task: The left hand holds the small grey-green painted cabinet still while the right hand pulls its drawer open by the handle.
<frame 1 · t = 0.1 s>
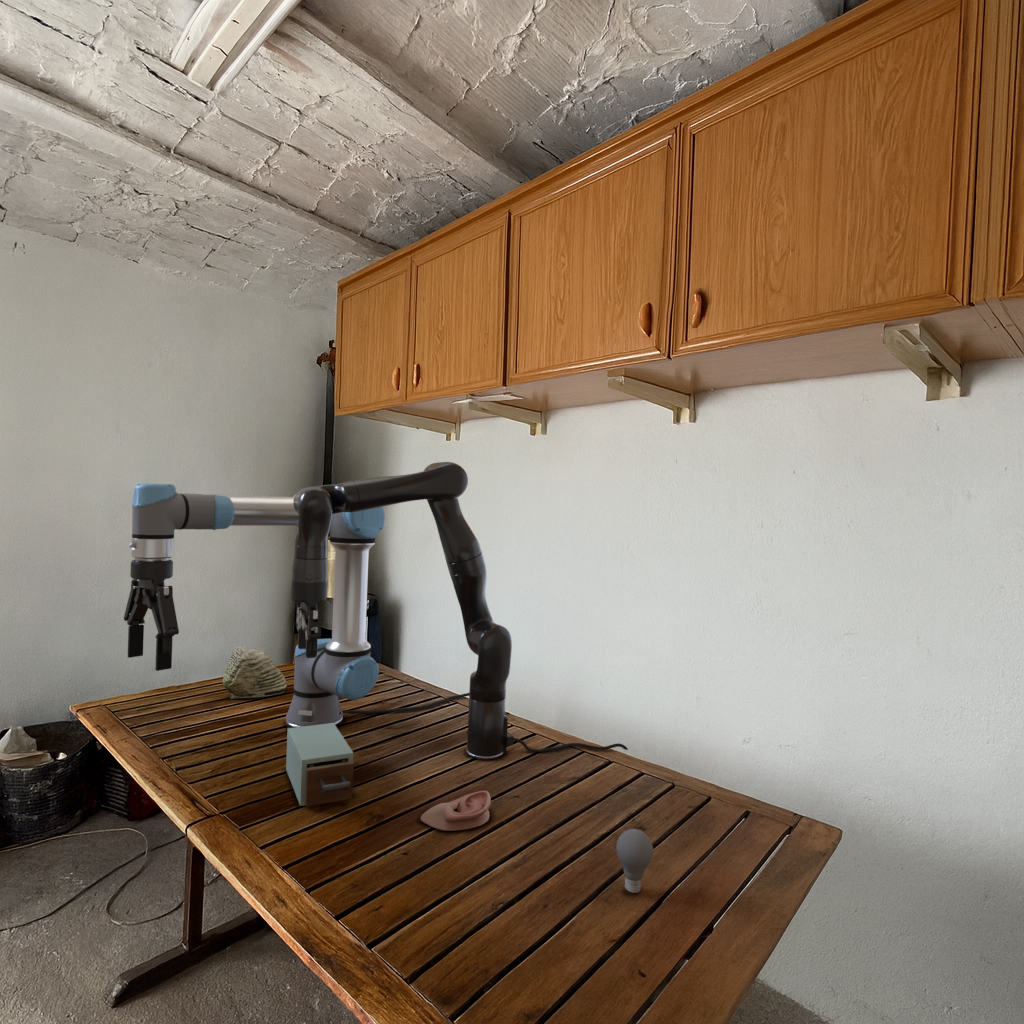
left hand: (148, 662, 129), 28 cm above the table, tool pointing down, fingers open, 13 cm apart
right hand: (307, 652, 138), 29 cm above the table, tool pointing down, fingers open, 8 cm apart
drawer: (324, 772, 135), point 5 cm above the table, slide at 1.7 cm
light bulb: (632, 891, 106), on the table
fossil: (254, 694, 198), on the table
anatomical model: (455, 818, 127), on the table
cabinet: (317, 782, 140), on the table
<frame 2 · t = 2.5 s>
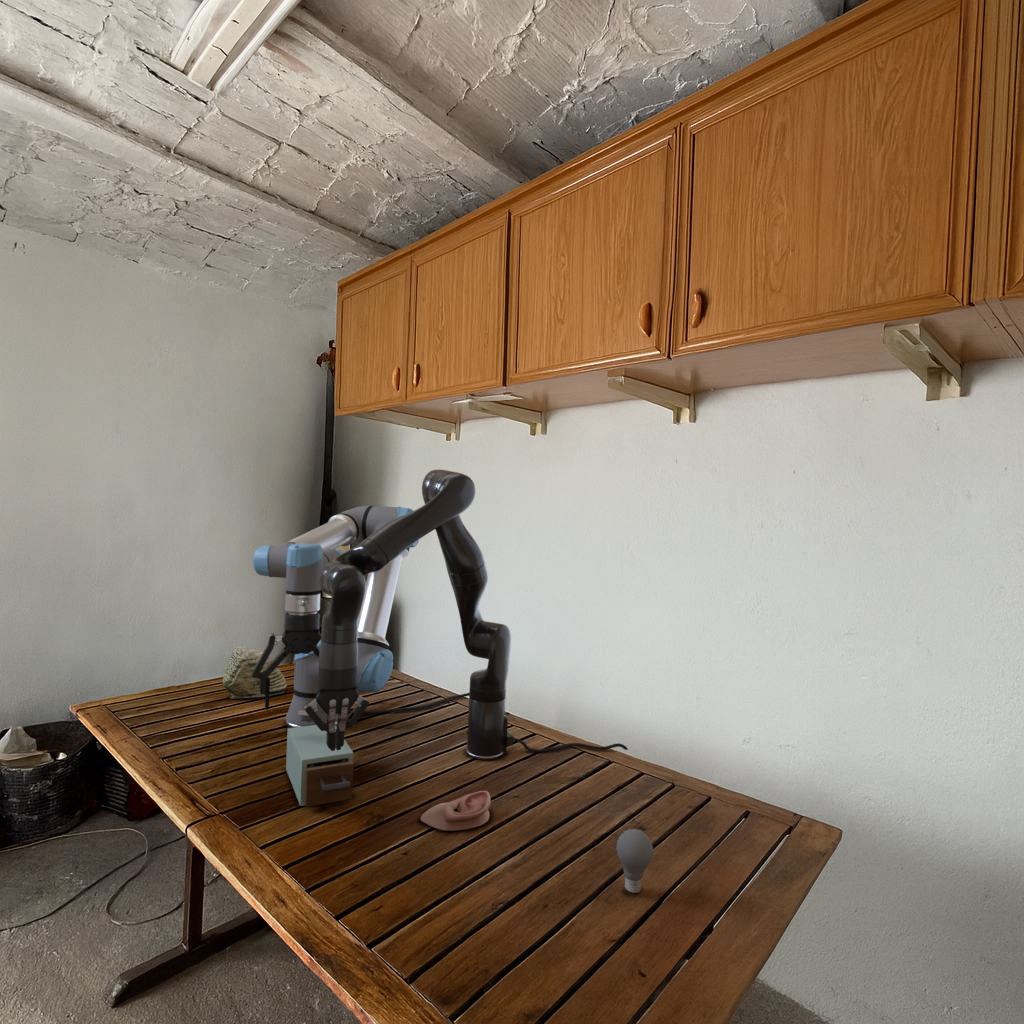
left hand: (299, 705, 143), 16 cm above the table, tool pointing down, fingers open, 13 cm apart
right hand: (335, 748, 127), 13 cm above the table, tool pointing down, fingers closed
nothing on the table moved.
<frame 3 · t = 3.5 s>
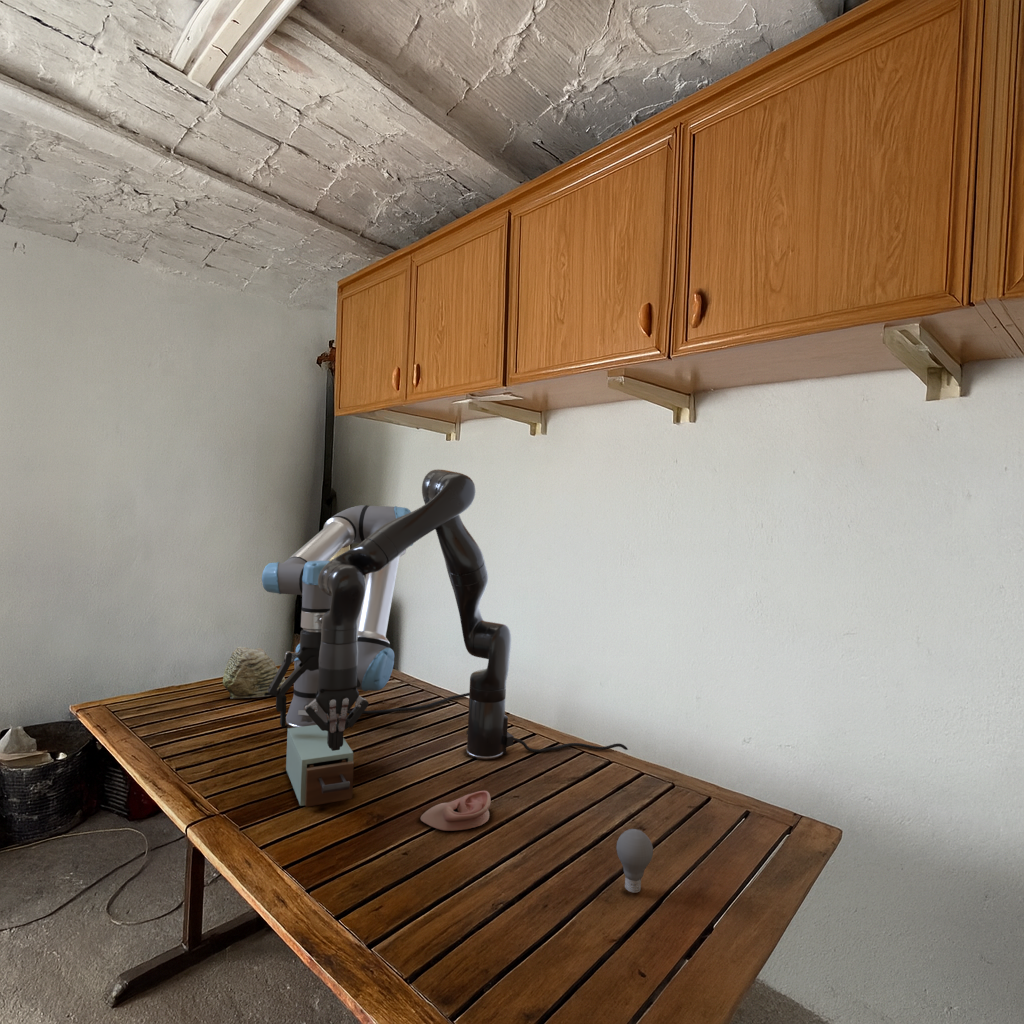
left hand: (313, 721, 145), 12 cm above the table, tool pointing down, fingers open, 13 cm apart
right hand: (335, 748, 127), 13 cm above the table, tool pointing down, fingers closed
nothing on the table moved.
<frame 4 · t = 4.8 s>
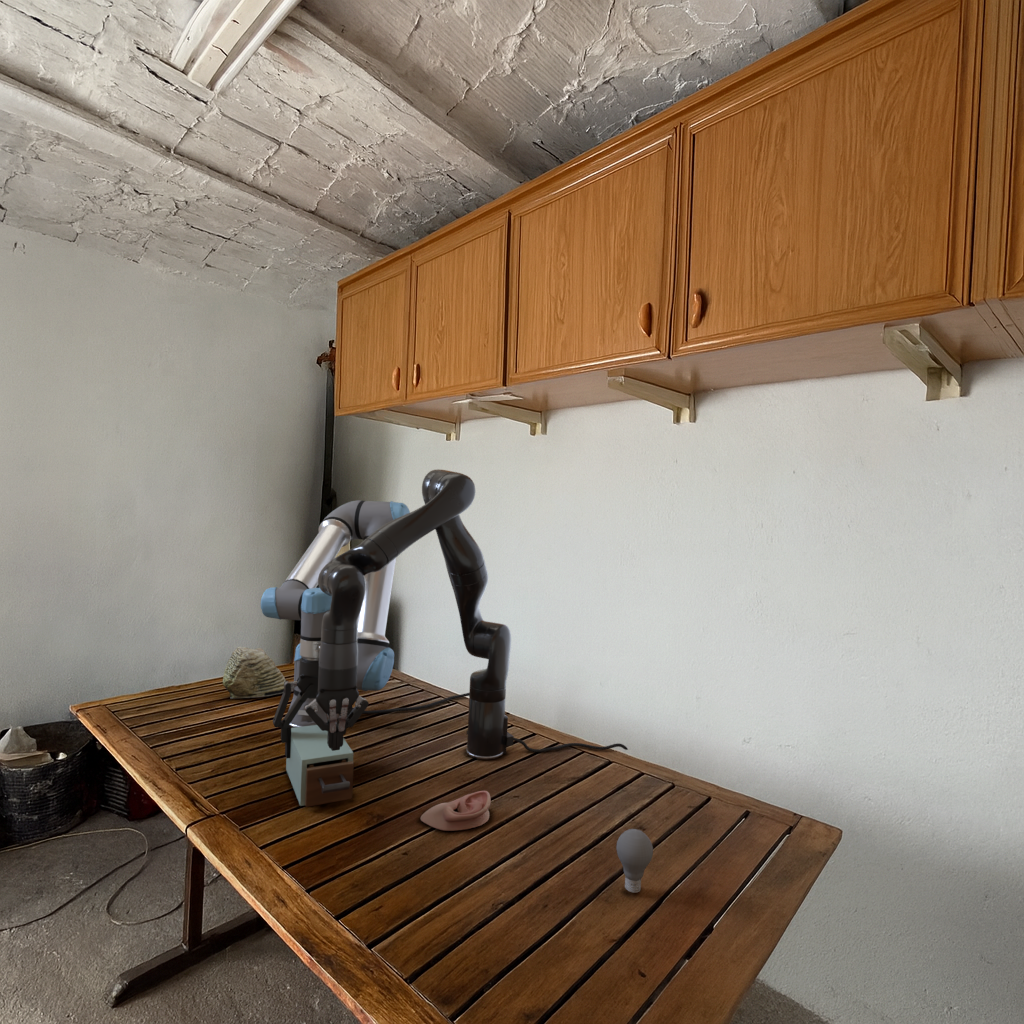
left hand: (313, 752, 145), 5 cm above the table, tool pointing down, fingers closed on cabinet, 10 cm apart
right hand: (335, 748, 127), 13 cm above the table, tool pointing down, fingers closed
cabinet: (317, 782, 140), on the table, touching left hand
everything else where it was.
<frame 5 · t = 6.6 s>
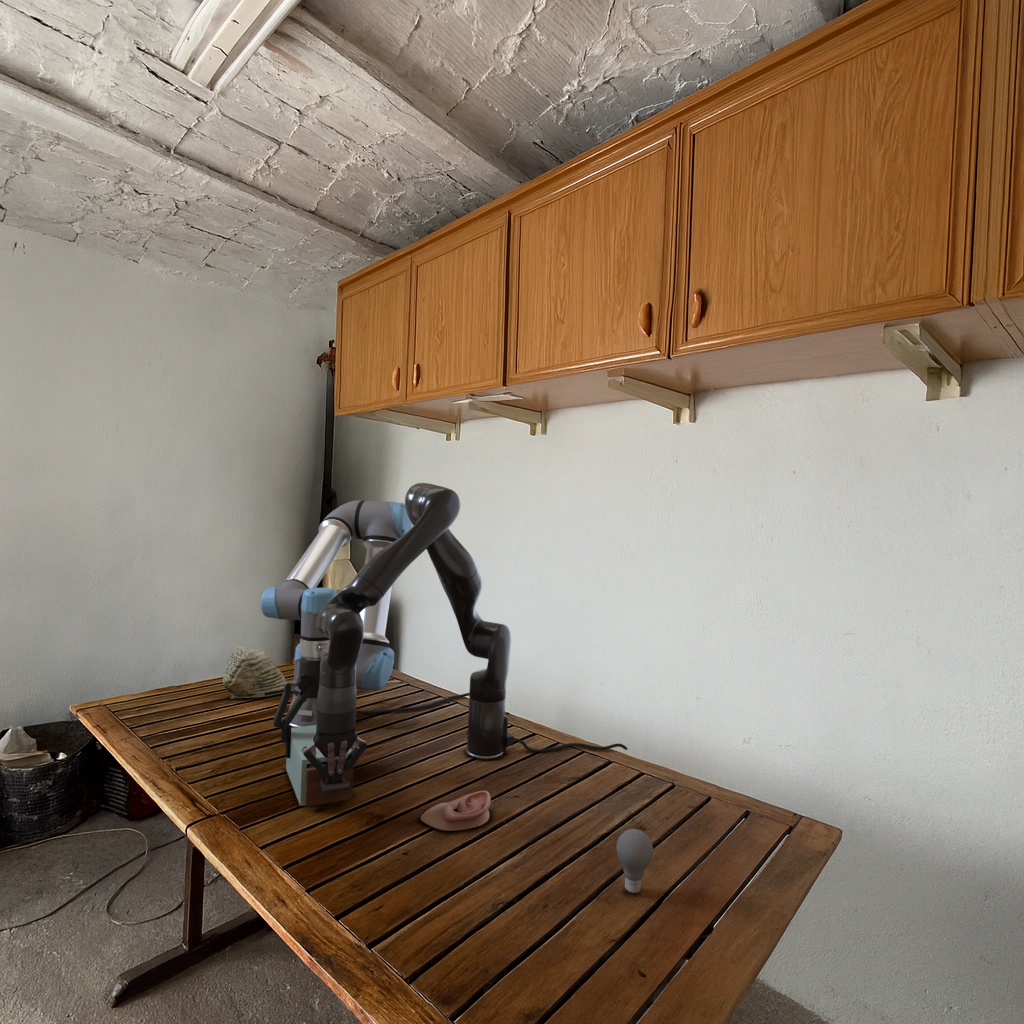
left hand: (313, 752, 145), 5 cm above the table, tool pointing down, fingers closed on cabinet, 10 cm apart
right hand: (333, 791, 126), 5 cm above the table, tool pointing down, fingers closed
drawer: (324, 772, 135), point 5 cm above the table, slide at 1.8 cm, touching right hand
cabinet: (317, 782, 140), on the table, touching left hand
everything else where it was.
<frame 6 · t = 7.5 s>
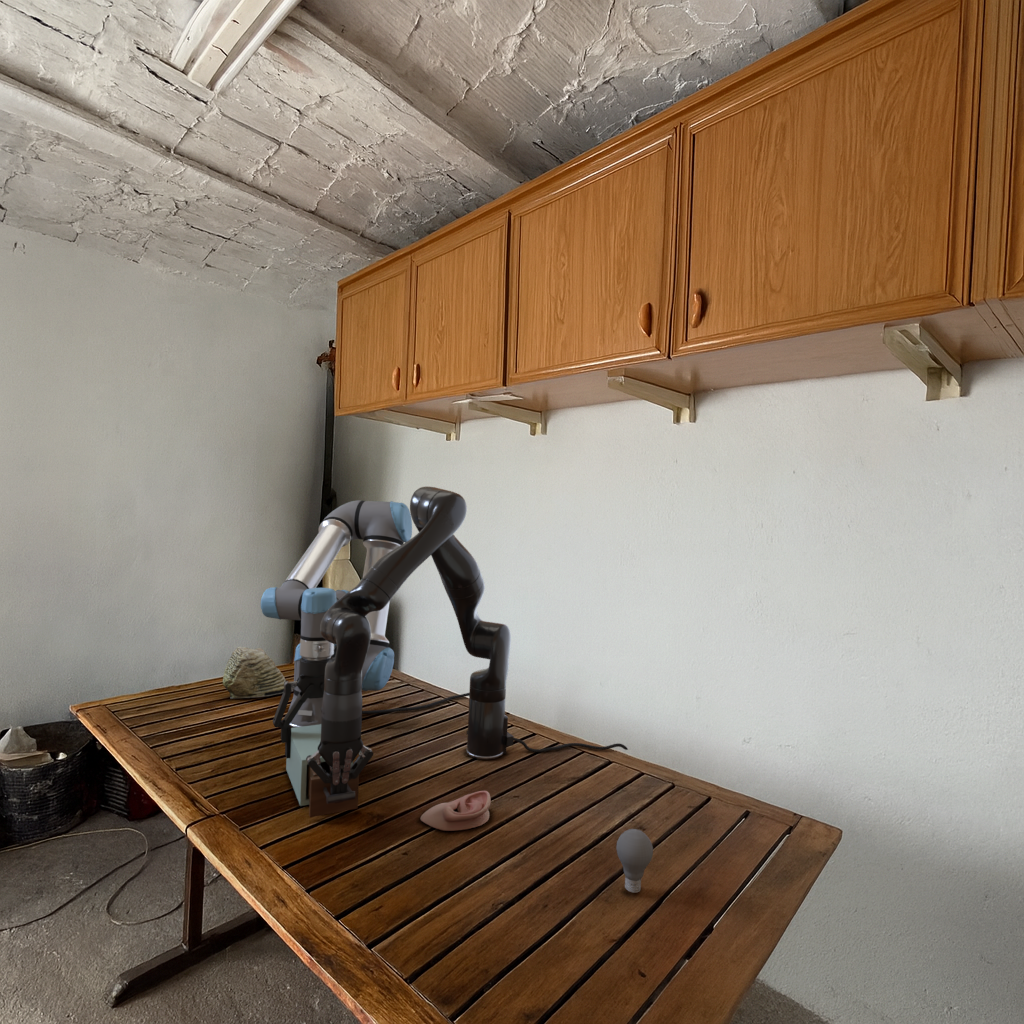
left hand: (313, 752, 145), 5 cm above the table, tool pointing down, fingers closed on cabinet, 10 cm apart
right hand: (338, 800, 123), 5 cm above the table, tool pointing down, fingers closed
drawer: (328, 781, 131), point 5 cm above the table, slide at 6.2 cm, touching right hand
cabinet: (317, 782, 140), on the table, touching left hand
everything else where it was.
when the left hand's fingers open (5 cm above the table, at t = 9.2 s): cabinet stays where it is, on the table.
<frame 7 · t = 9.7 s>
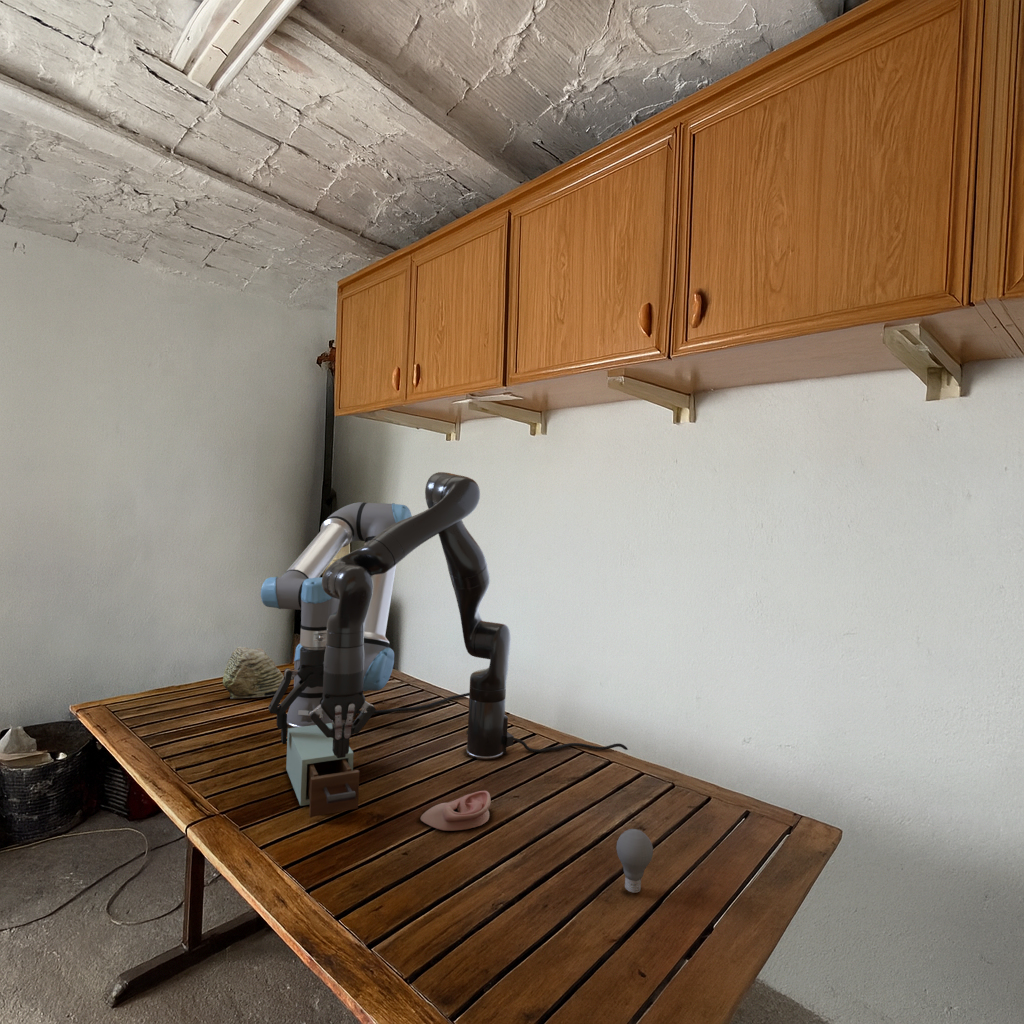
left hand: (314, 737, 146), 8 cm above the table, tool pointing down, fingers open, 13 cm apart
right hand: (340, 756, 122), 14 cm above the table, tool pointing down, fingers closed
drawer: (328, 781, 131), point 5 cm above the table, slide at 6.2 cm
cabinet: (317, 782, 140), on the table
everything else where it was.
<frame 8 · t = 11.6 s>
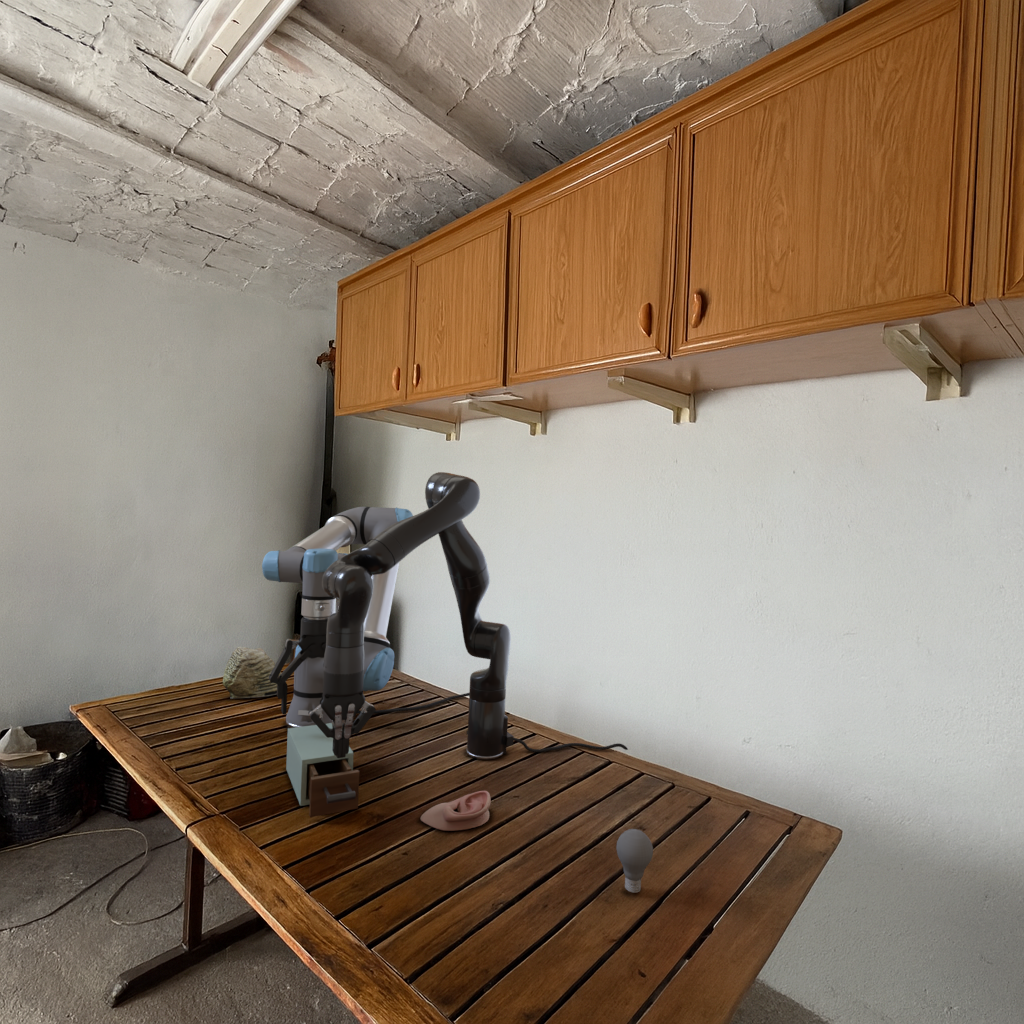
left hand: (314, 709, 145), 15 cm above the table, tool pointing down, fingers open, 13 cm apart
right hand: (340, 756, 122), 14 cm above the table, tool pointing down, fingers closed
nothing on the table moved.
at the end: drawer slide at 6.2 cm; cabinet tilted 0°; cabinet never tilted more than 1° during the clip; cabinet moved 0.0 cm from its start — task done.
